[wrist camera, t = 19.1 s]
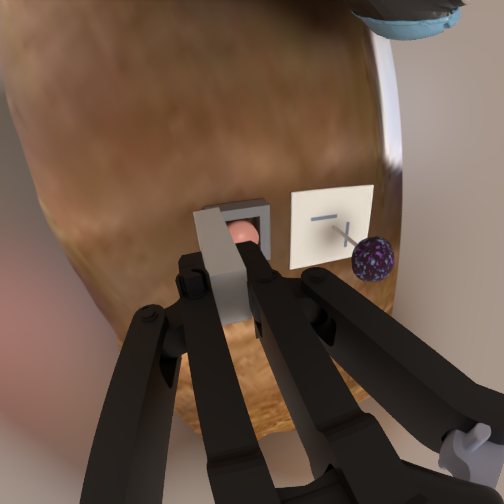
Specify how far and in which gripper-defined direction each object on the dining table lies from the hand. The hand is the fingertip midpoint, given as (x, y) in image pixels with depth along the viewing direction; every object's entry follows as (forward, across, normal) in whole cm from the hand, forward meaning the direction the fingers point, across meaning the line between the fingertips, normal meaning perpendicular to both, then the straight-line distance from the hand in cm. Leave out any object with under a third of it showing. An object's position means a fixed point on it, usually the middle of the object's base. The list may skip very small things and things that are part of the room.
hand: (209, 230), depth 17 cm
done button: (+24, +6, -13) cm, 28 cm away
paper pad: (+25, +22, -16) cm, 37 cm away
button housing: (+25, +6, -13) cm, 28 cm away
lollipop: (+25, +22, -16) cm, 37 cm away
